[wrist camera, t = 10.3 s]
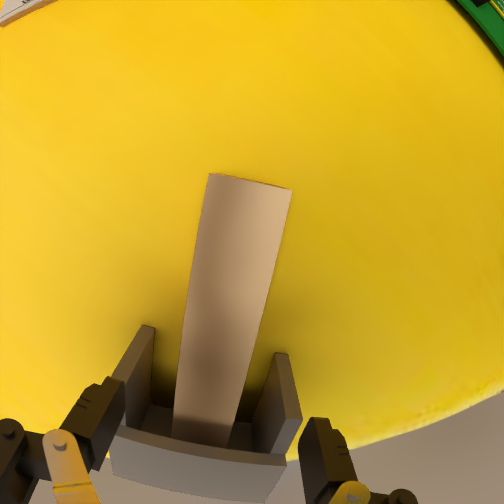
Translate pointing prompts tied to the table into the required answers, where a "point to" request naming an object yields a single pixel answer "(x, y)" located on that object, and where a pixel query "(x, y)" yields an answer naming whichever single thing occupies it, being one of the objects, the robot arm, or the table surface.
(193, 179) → the table surface
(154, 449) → the end cap
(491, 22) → the electronic board model
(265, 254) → the slat
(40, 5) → the baseboard molding
